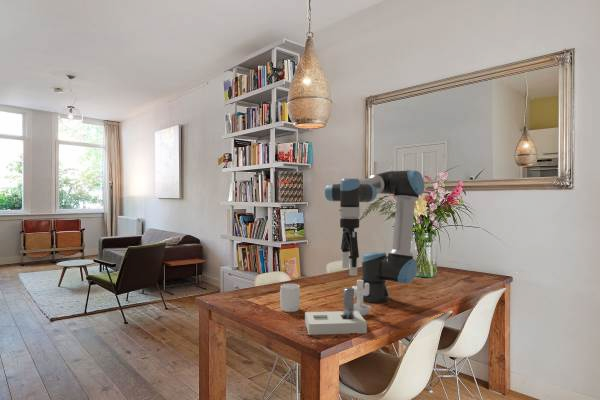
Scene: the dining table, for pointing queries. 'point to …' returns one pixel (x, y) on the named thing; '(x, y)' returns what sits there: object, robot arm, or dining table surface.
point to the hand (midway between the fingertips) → (349, 271)
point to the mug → (289, 297)
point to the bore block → (334, 323)
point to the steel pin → (348, 303)
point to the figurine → (361, 297)
